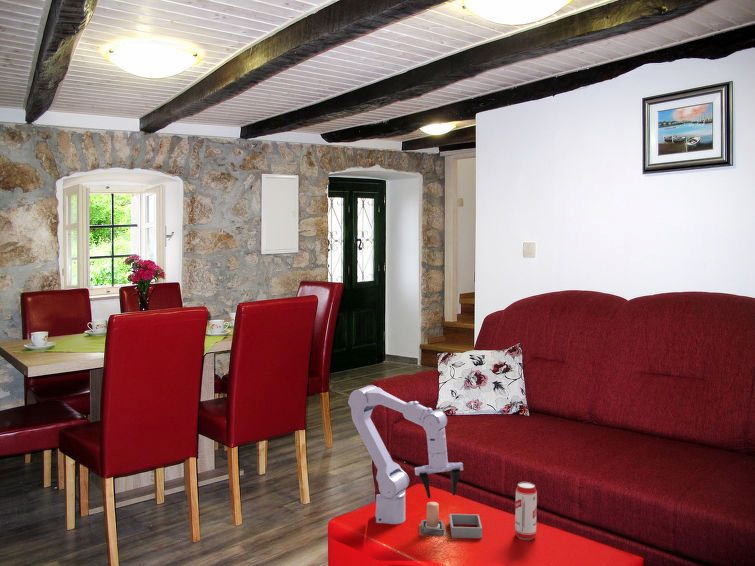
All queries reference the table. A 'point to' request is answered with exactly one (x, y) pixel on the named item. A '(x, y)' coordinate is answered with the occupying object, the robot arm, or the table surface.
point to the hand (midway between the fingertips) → (441, 495)
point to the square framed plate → (432, 531)
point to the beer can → (525, 511)
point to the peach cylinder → (432, 516)
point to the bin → (465, 531)
